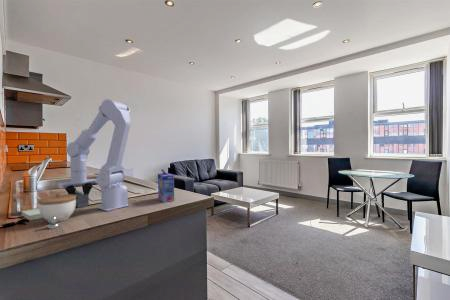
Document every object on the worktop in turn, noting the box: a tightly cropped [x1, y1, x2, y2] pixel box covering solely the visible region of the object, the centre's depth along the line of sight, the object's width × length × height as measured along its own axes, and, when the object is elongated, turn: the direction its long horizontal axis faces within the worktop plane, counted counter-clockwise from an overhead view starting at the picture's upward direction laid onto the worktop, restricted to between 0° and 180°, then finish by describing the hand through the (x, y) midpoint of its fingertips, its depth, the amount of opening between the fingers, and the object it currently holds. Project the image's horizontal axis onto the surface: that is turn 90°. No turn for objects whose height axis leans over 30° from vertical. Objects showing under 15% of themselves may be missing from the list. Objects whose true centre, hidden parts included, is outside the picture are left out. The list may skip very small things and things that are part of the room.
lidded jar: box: [37, 192, 77, 223], centre depth 77 cm, size 11×11×9 cm
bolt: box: [46, 216, 60, 230], centre depth 70 cm, size 3×3×3 cm
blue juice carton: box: [157, 169, 175, 203], centre depth 105 cm, size 10×6×14 cm, turn 31°
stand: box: [21, 207, 43, 221], centre depth 82 cm, size 7×10×2 cm
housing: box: [75, 191, 90, 209], centre depth 95 cm, size 4×8×6 cm, turn 55°
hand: (79, 202), depth 95 cm, fingers closed on housing, 4 cm apart
